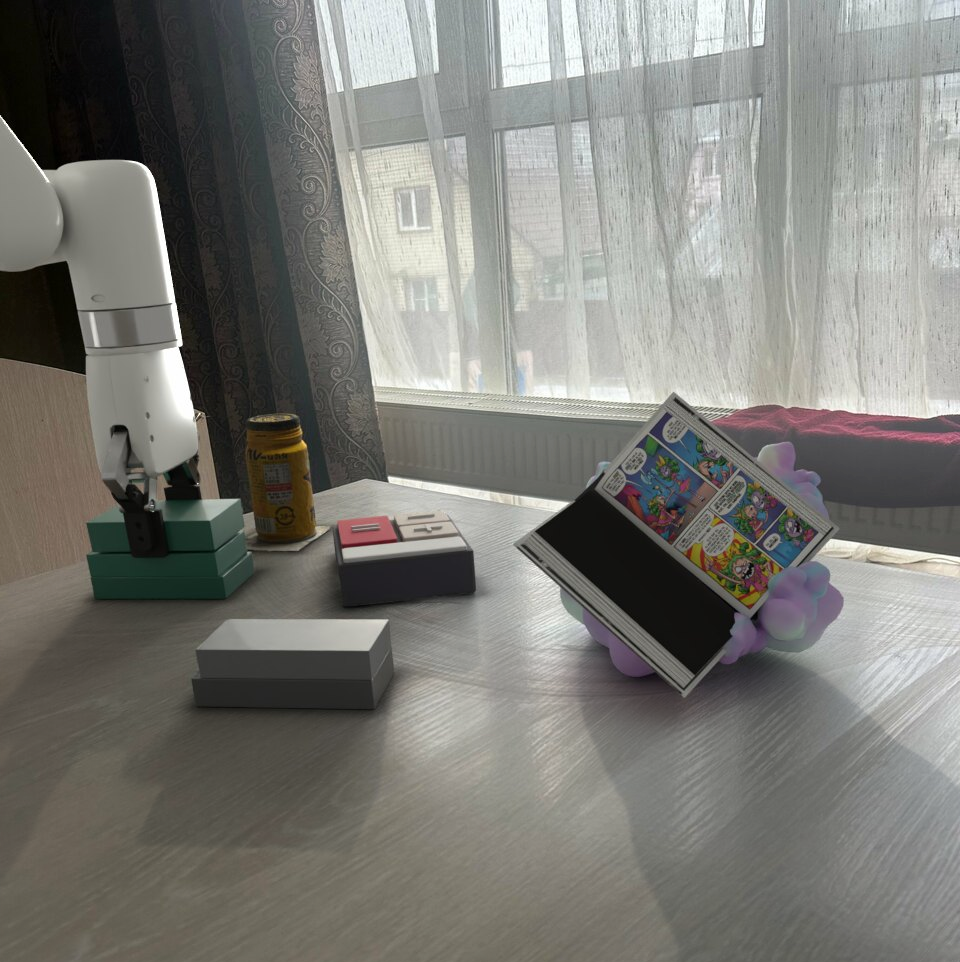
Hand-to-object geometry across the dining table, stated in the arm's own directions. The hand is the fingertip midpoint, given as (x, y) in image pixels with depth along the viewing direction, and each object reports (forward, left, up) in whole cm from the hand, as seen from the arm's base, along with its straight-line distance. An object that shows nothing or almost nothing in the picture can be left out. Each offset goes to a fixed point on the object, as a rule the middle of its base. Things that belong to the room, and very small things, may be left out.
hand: (170, 541), depth 87 cm
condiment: (+5, +14, -4) cm, 15 cm away
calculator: (+20, +3, -4) cm, 20 cm away
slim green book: (0, 0, 0) cm, 0 cm away
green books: (0, 0, -4) cm, 4 cm away
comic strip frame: (+44, -13, -4) cm, 46 cm away
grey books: (+18, -21, -4) cm, 28 cm away
